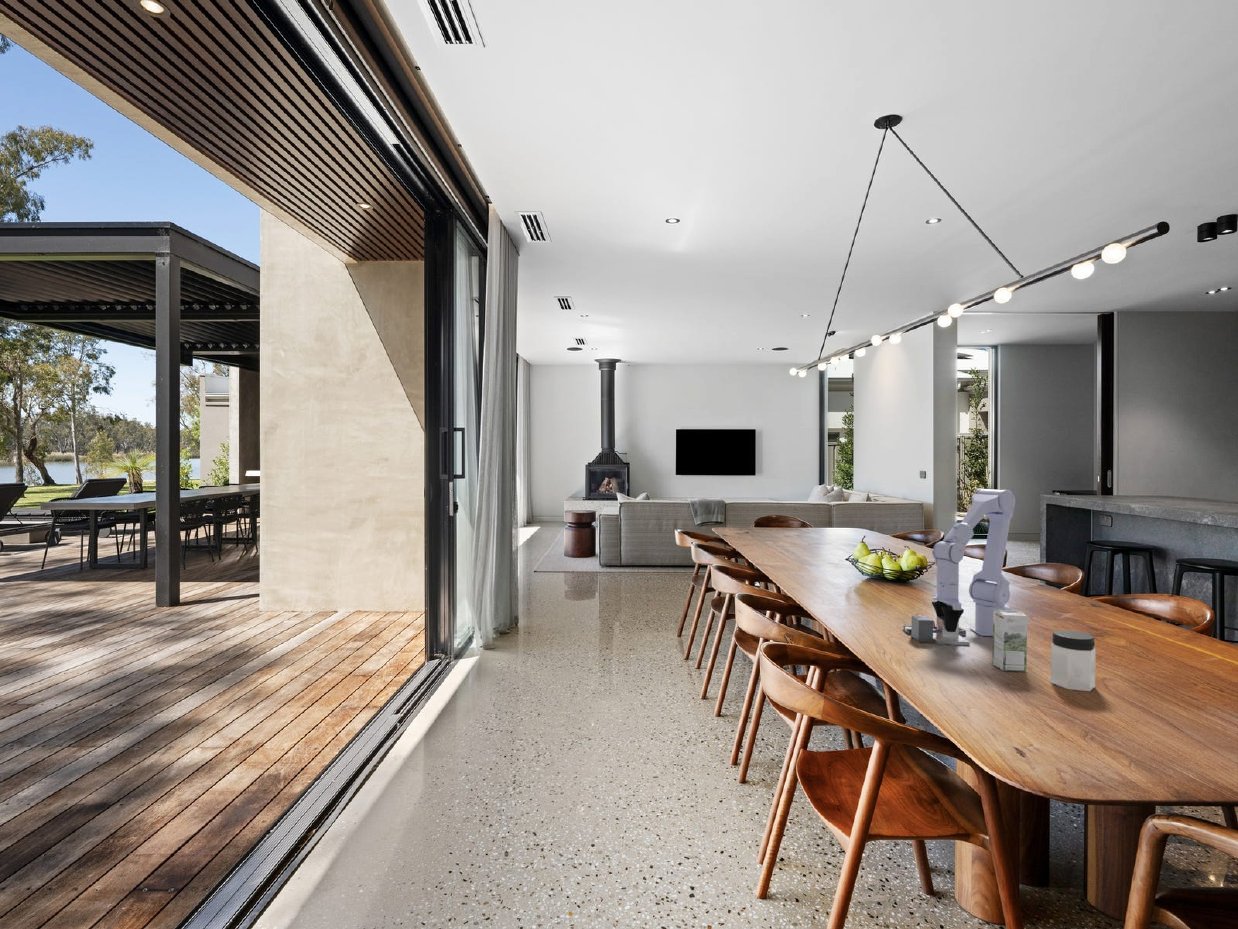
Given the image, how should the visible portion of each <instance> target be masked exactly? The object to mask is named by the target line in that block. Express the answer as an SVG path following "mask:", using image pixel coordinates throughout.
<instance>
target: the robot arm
mask: <svg viewBox="0 0 1238 929" xmlns="http://www.w3.org/2000/svg"><path fill="white" fill-rule="evenodd" d="M1015 506H1016V498H1015V495H1014V494H1013V492H1012V491H1011V490H1009V489H991V488H990V489H989V488H977V489H976V490H975V491H974V493H973V495H971V506H970V507H969V509H968V510H967V512H966V514H965V516H964V517H963V519H962V520H961V522H957V523H955V524H954V525H953V526H952V528H951V529H950V530H949V532H948V533H947V534H946V535H945V537H944V538H943V540H942V541H941V540H940V541H938V542H936V543H935V544H934V546H933V549H932V550H931V553H932V557H933V559H934V564H935V566H936V592H934V595H933V596H932V600H933V601H931V605H932V606H933V608H934V611H935V613H936V614H935V615H936V617H937V616H940V617H945V623H946V629H947V632H955V631H956V628H957V624H958V621H959V622H960V618H961V617H962V615H963V614H964V612H965V610H964V609H963V608H962V602H961V601H960V597H959V580H960V579H959V578H960V576H959V572H960V569H959V568H960V567H959V566H960V563H961V561H962V560H963V559H964V556H965V551H966V546H967V545H968V543H969V542H970V540H971V539H972V538H973V536H974V534H975V533H974V530H973V529H974V528H975V527H976V526H977V525H978V523H979V522H981V520H982V519H983V518H984V516H985V517H986V518H988V520H989V525H988V532H987V538H986V544H985V550H984V555H983V556H984V557H983V560H982V561H983V562H982V566H981V570H980V571H978V572H976V573H975V574H973V576H972V581H971V582H970V584H969V587H968V593H969V597H970V598H971V599H972V603H975V604H974V605H975V610H974V611H975V612H974V613H975V615H974V618H975V620H974V621H975V622H974V623H975V624H974V626H975V627H973V626H972V627H971V626H970V627H969V630H971V631H972V632H974V633H976V634H978V635H979V636H982V637H983V636H985V637H993V612H994V610H1012V608H1011V607H1010V606H1009V605H1008V604H1007V603H1008V602H1009V600H1010V596H1011V592H1010V581H1009V580H1008V579H1007V578H1006V577H1005V576H1004V575H1003V574H1002V573H1003V572H1002V571H1003V568H1004V567H1003V566H1004V562H1005V560H1004V559H1005V555H1006V554H1005V553H1006V550H1007V549H1006V548H1007V542H1008V536H1009V529H1010V525H1011V519H1013V516H1014V511H1015Z"/></svg>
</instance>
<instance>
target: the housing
mask: <svg viewBox="0 0 1238 929" xmlns="http://www.w3.org/2000/svg"><path fill="white" fill-rule="evenodd" d="M936 626H937V628H936V635H937V636H939V637H940V638H942V639H954V640H959V627H960V620H959V621H958V624H957V628H956V631H955V632H947V629H946V623H945V617H940V616H937V615H936Z"/></svg>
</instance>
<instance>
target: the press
mask: <svg viewBox="0 0 1238 929" xmlns="http://www.w3.org/2000/svg"><path fill="white" fill-rule="evenodd" d="M905 627H912V629H908V630H907V632H906V631H905ZM902 628H903V631H904V632H906V633H908V634H907V635H911V638H912V637H913V639H914V640H915V641H916V640H917V641H918V643H919V642H924V643H925V642H926V643H925V644H933V643H934V644H935V643H936V645H937V644H951V645H950V646H966V645H970V646H971V642H970V641H969V640H967V639H966V638H965V637H964V636H966V635H967V630H966V629H964V628H962V627H960V626H959V640H954V639H942V638H940V637H939V636H937V635H936V628H937V625H936V623H935V621H934V620H933V619H931V618H930V617H929V616H928V615H924V614H922V615H915V614H914V615H913V614H912V615H911V625H906V624H905V625H903V626H902ZM917 641H916V642H917Z"/></svg>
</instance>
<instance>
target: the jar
mask: <svg viewBox="0 0 1238 929" xmlns="http://www.w3.org/2000/svg"><path fill="white" fill-rule="evenodd" d="M1095 644H1096V642H1095V637H1094V636H1093V635H1092V634H1088V633H1087V632H1081V631H1075V630H1066V629H1059V630H1058V629H1057V630H1054V631H1052V643H1051V645H1050V683H1051V684H1053V685H1055V684H1056V686H1059V687H1061V688H1062V689H1066V690H1069V691H1070V690H1071V691H1080V692H1091V691H1092V690H1093V689H1094V688H1096V647H1095Z"/></svg>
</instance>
